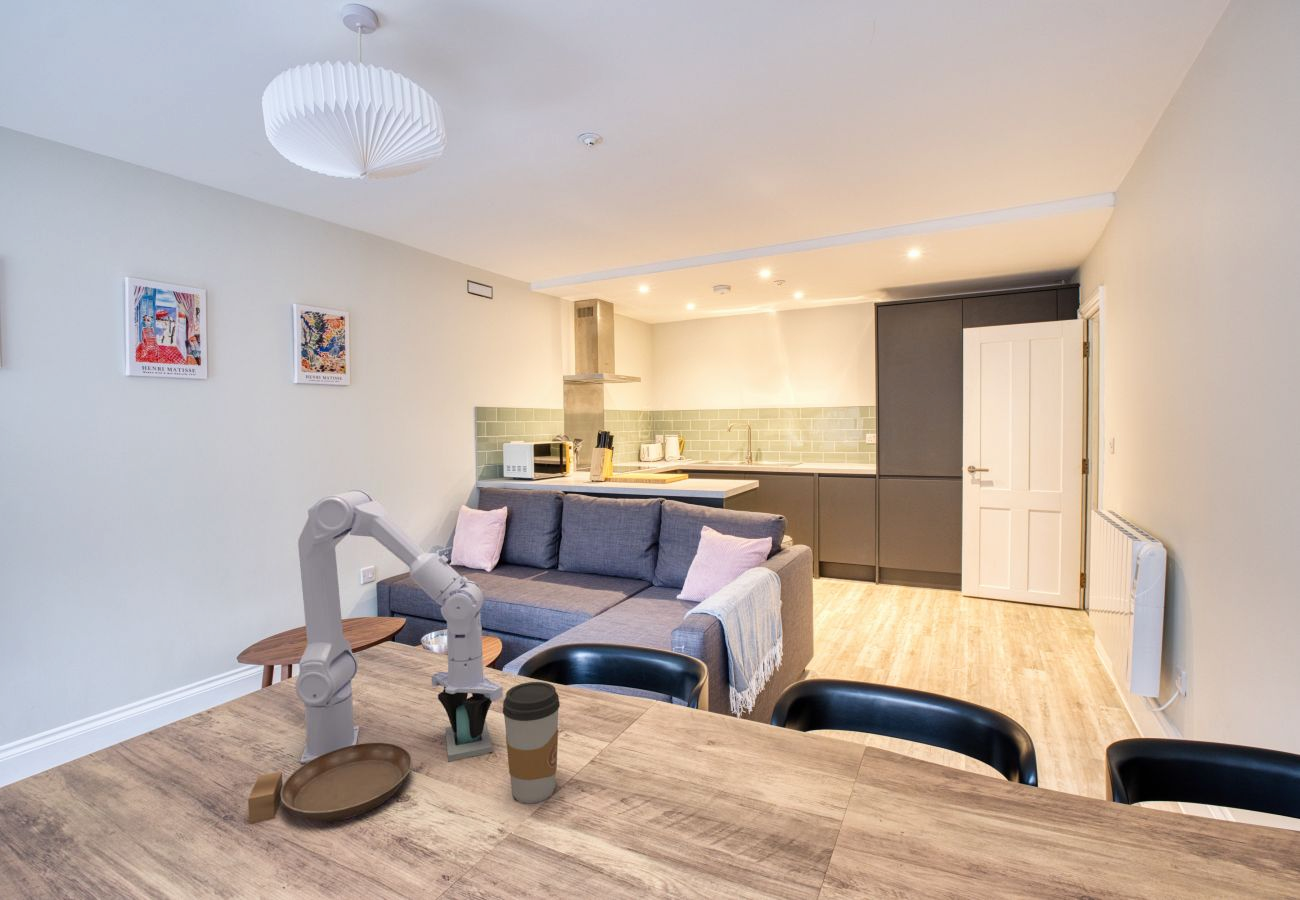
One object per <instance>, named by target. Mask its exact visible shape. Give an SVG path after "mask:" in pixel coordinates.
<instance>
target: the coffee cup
mask: <svg viewBox="0 0 1300 900" xmlns="http://www.w3.org/2000/svg"><path fill="white" fill-rule="evenodd" d="M559 698H560V697H559V694H558V692H557V689H556V687H555V685H553V684H551V683H549V682H548V683H547V682H545V681H544V682H542V681H531V682H524V683H519V684H516V685H515V686H513V687H511V688H509V689H508V690H507V691H506V693H505V698H504V700H503V701H502V703H503V705H502V707H503V708H502V714H503V715H504V717H503V718H504V726H505V727H504V729H505V741H506V751H507V752H506V753H507V761H508V770H509V772H508V773H509V775H510V786H511V793H512V794H513V796H514V799H515V800H517V802H520V803H524V804H536V803H539V802H543V801H544V800H547V799H549V798H550V797H551V796H552V794H553V792H554V790H555V789H556V778H557V768H558V741H559V738H558V737H559V729H558V728H559V727H558V726H559V723H558V722H559V708H560V704H561V703H560V699H559Z"/></svg>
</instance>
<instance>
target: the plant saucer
mask: <svg viewBox="0 0 1300 900" xmlns="http://www.w3.org/2000/svg"><path fill="white" fill-rule="evenodd" d="M412 765H413V757H412V755H411V753H410V751H409V750H407V749H406V748H405V747H403V746H401V745H398V744H396V743H390V742H383V741H382V742H381V741H380V742H376V741H375V742H373V741H372V742H363V743H362V742H361V743H357V744H356V745H351V746H347V747H343V748H340V749H336V750H333V751H331V752H328V753H325V754H323V755H321V756H319V757H316V758H315V759H313V760H311V761H309V762H307V763H303V764H302V765H301V766H300V767H299V768H297V769H296V770H295V771H294V772H292V773H291V774H290V775H289V776H288V777H287V779H286V780H285V782H284V783H283V786H282V789H281V794H280V795H281V802H282V804H284V805H285V806H286V807H287V808H288V809H289V810H290V811H291V812H293V813H294V814H295V815H297V816H299V817H302V818H303V819H306V820H307V821H308V820H309V821H313V822H334V821H340V820H345V819H349V818H353V817H356V816H358V815H359V816H360V815H361V814H364V813H366V812H369V811H371V810H372V809H374V808H376V807H378V806H380V805H381V804H382V803H384V802H386V801H387V800H388V799H389V798H390V797H392V796H393V795H394V794H395V793H396V791H398V789H399V788H401V786H402V784H403V783H404V781H405V780H406V779H407V776H408V775H409V772H410V771H411V768H412Z"/></svg>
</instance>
